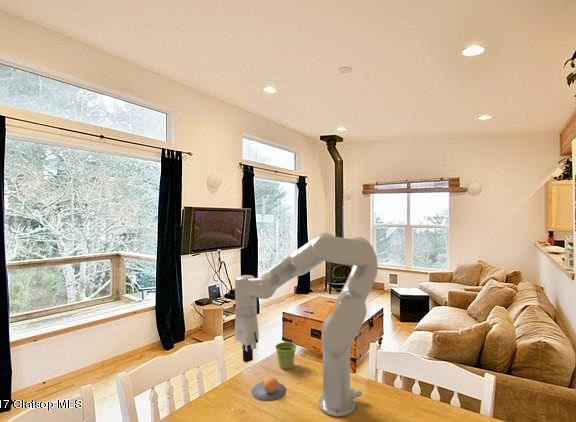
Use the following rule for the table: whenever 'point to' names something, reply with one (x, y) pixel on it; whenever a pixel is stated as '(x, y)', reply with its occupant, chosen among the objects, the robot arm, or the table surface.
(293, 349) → the plant pot
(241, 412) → the table surface
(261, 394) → the disc
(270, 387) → the ball
